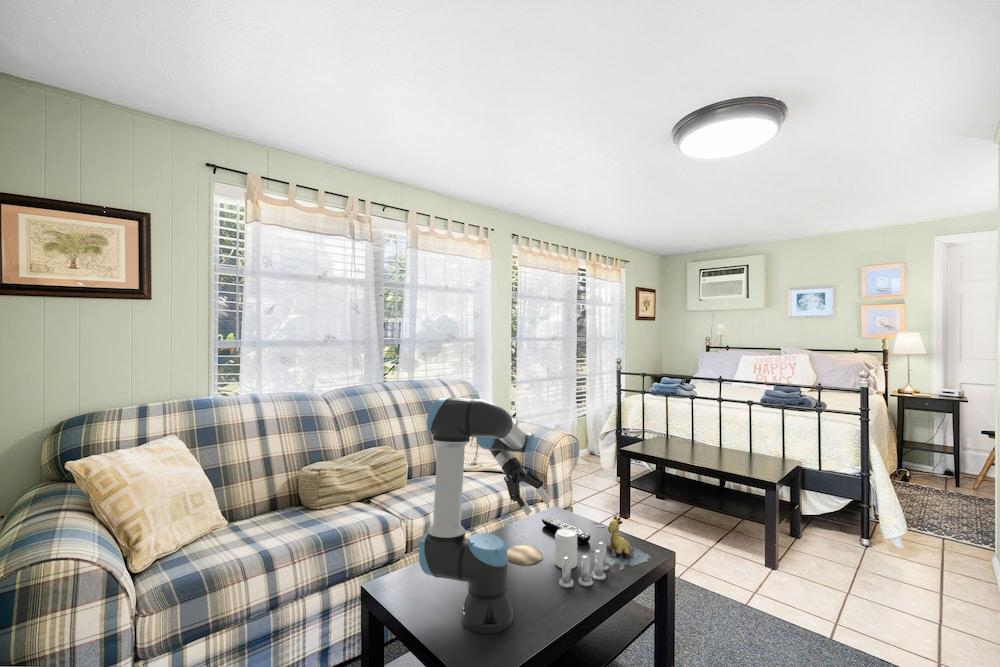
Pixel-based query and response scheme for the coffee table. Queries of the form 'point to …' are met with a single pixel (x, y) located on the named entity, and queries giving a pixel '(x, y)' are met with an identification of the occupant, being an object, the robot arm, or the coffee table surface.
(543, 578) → the coffee table surface
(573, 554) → the beverage can
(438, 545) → the robot arm
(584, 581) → the posts
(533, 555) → the cork coaster
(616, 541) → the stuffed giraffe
